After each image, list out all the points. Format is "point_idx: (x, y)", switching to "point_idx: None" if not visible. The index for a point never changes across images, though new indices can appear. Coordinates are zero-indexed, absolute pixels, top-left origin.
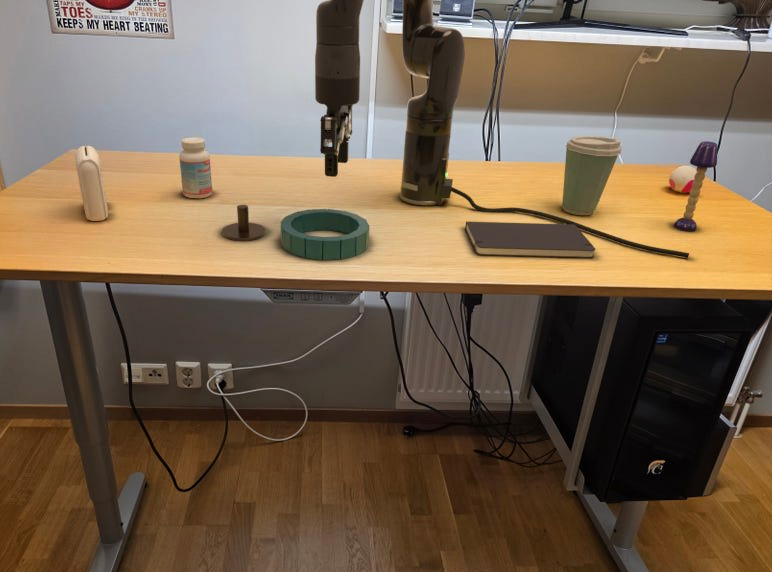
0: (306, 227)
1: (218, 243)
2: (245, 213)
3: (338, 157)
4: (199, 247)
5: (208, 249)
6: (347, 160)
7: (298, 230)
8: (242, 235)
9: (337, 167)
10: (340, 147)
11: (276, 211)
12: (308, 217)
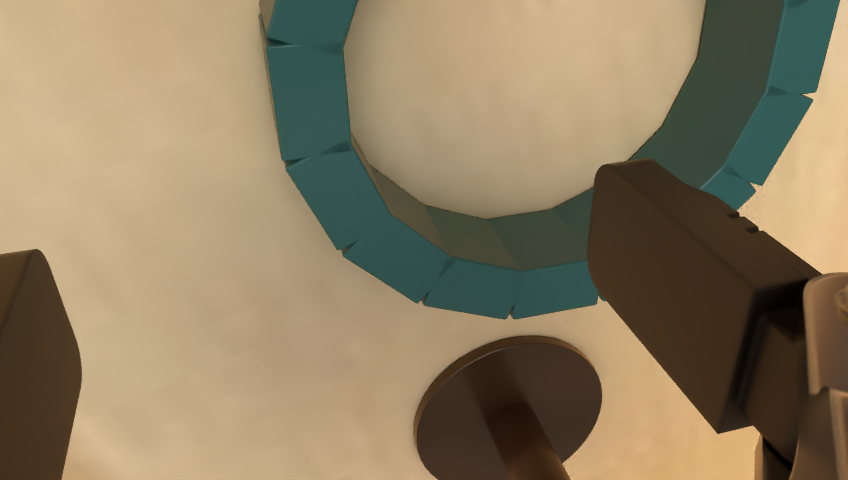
0: (410, 202)
1: (632, 428)
2: (564, 471)
3: (65, 381)
4: (677, 455)
5: (690, 425)
6: (19, 256)
7: (461, 222)
8: (570, 398)
9: (679, 196)
10: (30, 471)
11: (175, 437)
12: (414, 222)
